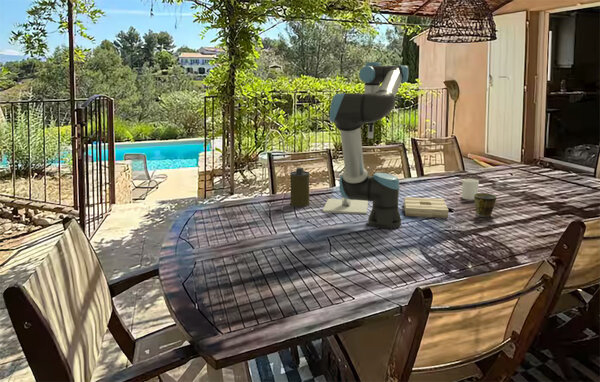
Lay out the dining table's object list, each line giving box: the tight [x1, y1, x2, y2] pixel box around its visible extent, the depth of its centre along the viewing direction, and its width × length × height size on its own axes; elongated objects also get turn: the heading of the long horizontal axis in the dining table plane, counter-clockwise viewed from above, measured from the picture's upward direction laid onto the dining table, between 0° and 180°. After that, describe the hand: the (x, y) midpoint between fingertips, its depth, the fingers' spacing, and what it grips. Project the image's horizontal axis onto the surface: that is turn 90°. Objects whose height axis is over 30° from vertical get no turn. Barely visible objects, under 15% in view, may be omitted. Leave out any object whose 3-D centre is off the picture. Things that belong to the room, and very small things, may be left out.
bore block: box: [403, 196, 449, 219], centre depth 225 cm, size 20×20×4 cm
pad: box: [322, 198, 369, 215], centre depth 233 cm, size 22×22×1 cm
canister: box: [289, 167, 311, 208], centre depth 236 cm, size 11×10×20 cm
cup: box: [461, 178, 479, 201], centre depth 249 cm, size 8×12×10 cm
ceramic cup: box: [474, 192, 497, 218], centre depth 216 cm, size 13×10×10 cm
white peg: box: [341, 196, 351, 207], centre depth 231 cm, size 5×5×13 cm
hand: (370, 136), depth 227 cm, fingers open, 13 cm apart
